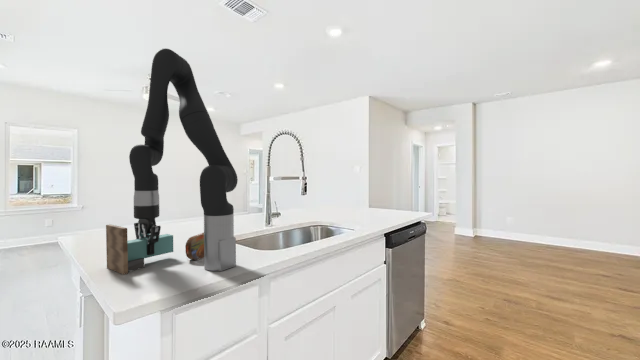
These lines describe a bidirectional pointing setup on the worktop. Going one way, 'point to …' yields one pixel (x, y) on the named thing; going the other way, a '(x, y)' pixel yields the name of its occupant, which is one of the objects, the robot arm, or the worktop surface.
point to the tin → (195, 247)
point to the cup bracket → (119, 251)
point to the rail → (139, 247)
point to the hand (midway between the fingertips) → (147, 253)
